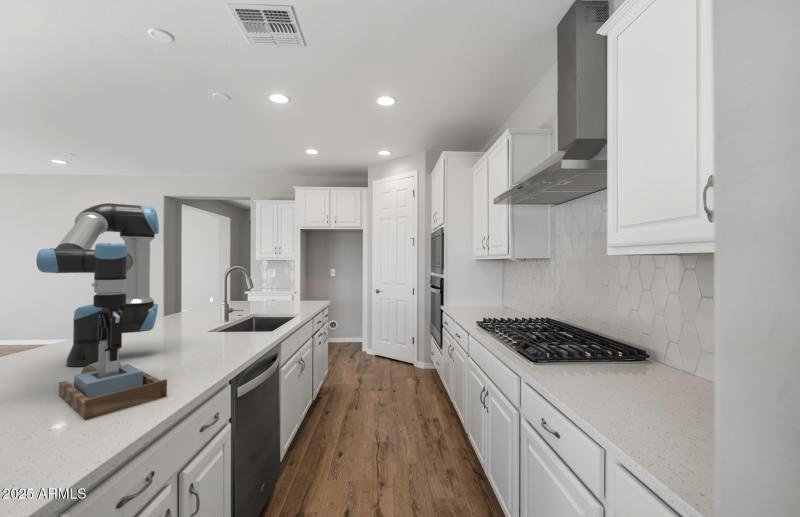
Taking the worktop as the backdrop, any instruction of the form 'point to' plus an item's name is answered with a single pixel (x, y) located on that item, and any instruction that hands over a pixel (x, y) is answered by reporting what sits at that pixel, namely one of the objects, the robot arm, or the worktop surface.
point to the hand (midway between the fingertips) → (108, 369)
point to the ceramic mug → (92, 368)
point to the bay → (113, 397)
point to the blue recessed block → (108, 381)
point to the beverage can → (104, 361)
